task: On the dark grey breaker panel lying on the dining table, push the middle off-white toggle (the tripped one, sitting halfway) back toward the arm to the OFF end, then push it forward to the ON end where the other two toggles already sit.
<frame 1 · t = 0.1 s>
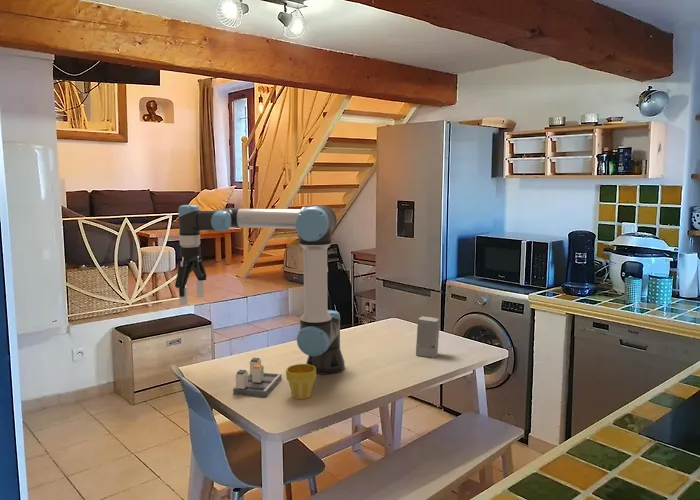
hand: (192, 300, 214), 28 cm above the table, fingers open, 13 cm apart
plant pot: (301, 396, 194), on the table
breaker 2: (258, 373, 201), point 5 cm above the table, slide at 0.0 cm
skincare box: (427, 355, 237), on the table
breaker 3: (241, 378, 195), point 5 cm above the table, slide at 3.5 cm
breaker 1: (255, 366, 208), point 5 cm above the table, slide at 3.5 cm
panel: (258, 386, 202), on the table
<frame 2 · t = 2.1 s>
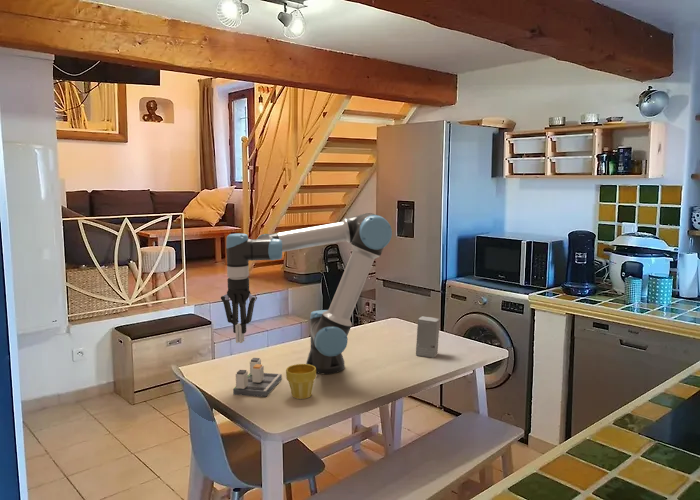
hand: (240, 341, 201), 16 cm above the table, fingers closed
nothing on the table moved.
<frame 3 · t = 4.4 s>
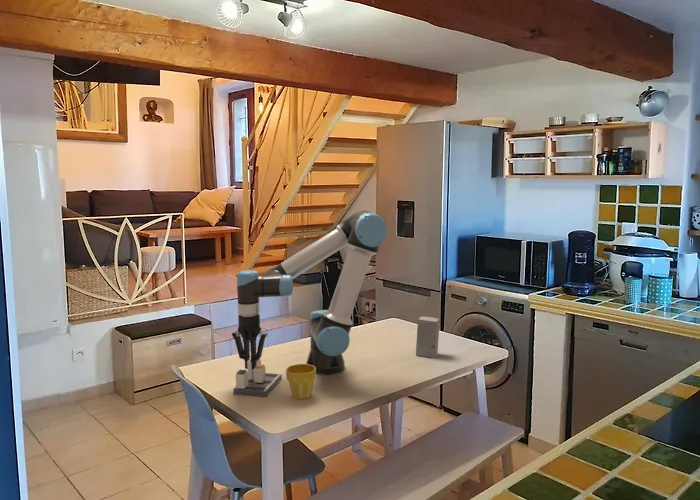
hand: (251, 377, 202), 3 cm above the table, fingers closed
breaker 2: (259, 373, 201), point 5 cm above the table, slide at -0.7 cm, touching gripper
everything else where it was.
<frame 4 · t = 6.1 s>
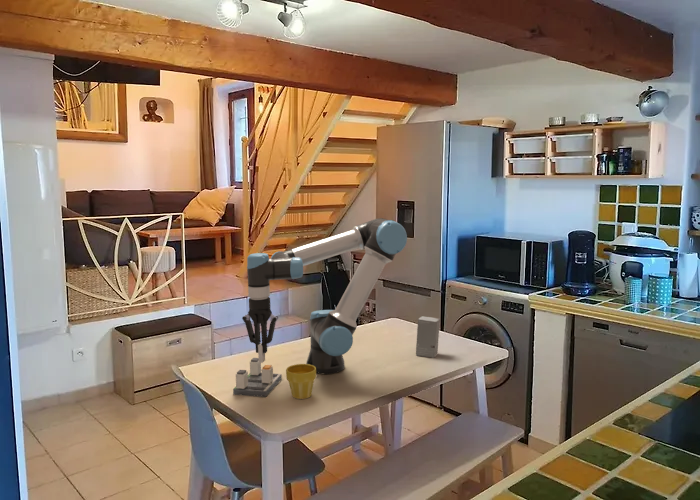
hand: (261, 361, 200), 10 cm above the table, fingers closed
breaker 2: (267, 373, 200), point 5 cm above the table, slide at -3.6 cm
everything else where it was.
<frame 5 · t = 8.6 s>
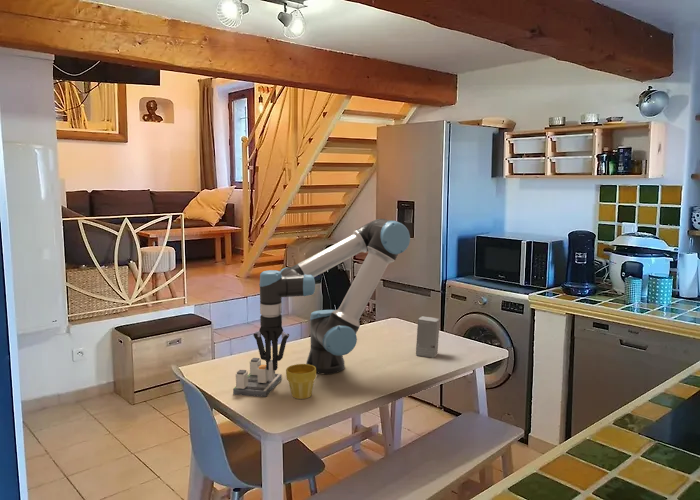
hand: (272, 378, 200), 4 cm above the table, fingers closed
breaker 2: (263, 373, 201), point 5 cm above the table, slide at -2.0 cm, touching gripper
everything else where it was.
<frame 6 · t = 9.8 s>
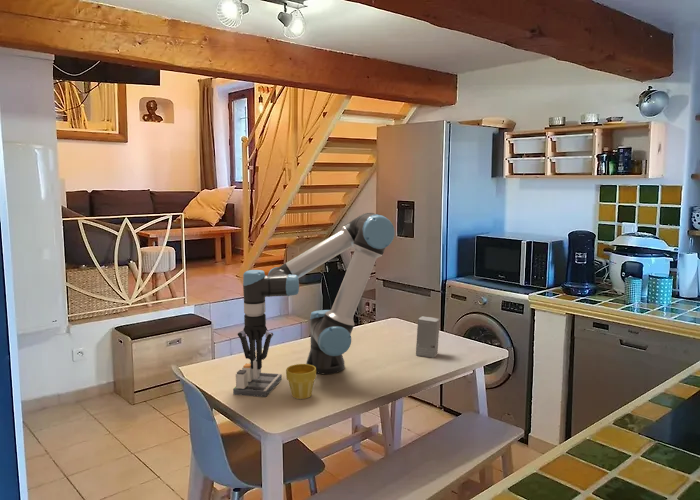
hand: (256, 377, 201), 4 cm above the table, fingers closed
breaker 2: (248, 372, 202), point 5 cm above the table, slide at 3.8 cm, touching gripper
everything else where it was.
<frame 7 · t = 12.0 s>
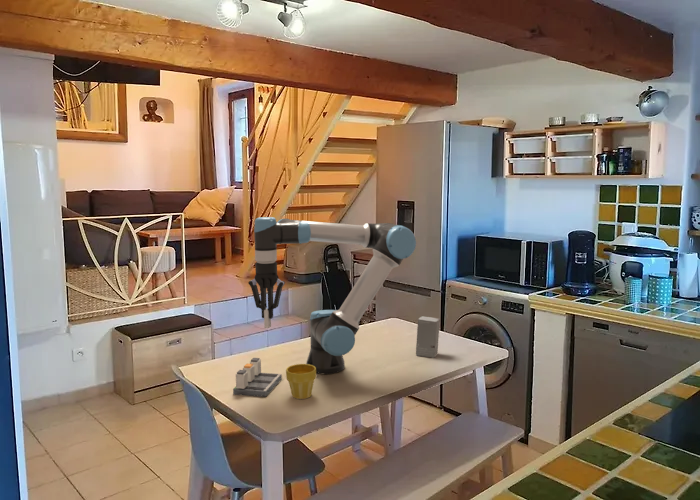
hand: (267, 327, 198), 22 cm above the table, fingers closed
breaker 2: (248, 372, 202), point 5 cm above the table, slide at 3.6 cm
everything else where it was.
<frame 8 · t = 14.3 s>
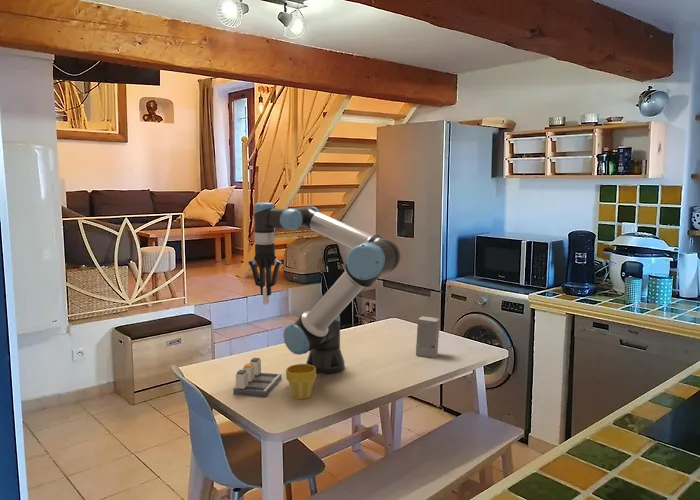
hand: (266, 303, 216), 26 cm above the table, fingers closed
nothing on the table moved.
at the end: breaker 2 slide at 3.6 cm; breaker 1 slide at 3.5 cm; breaker 3 slide at 3.5 cm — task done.
